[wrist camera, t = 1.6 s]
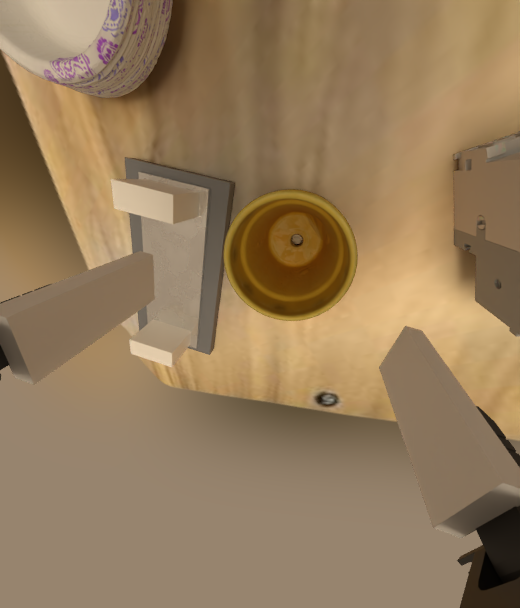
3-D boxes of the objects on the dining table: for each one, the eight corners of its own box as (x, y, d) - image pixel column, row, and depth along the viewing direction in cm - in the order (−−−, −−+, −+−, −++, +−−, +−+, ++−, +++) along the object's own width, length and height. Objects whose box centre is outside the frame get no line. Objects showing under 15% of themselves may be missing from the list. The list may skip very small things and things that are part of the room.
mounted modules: (147, 179, 25) (110, 178, 20) (199, 192, 24) (173, 194, 20) (153, 332, 35) (130, 353, 31) (190, 344, 35) (172, 367, 30)
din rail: (142, 172, 25) (138, 171, 24) (211, 188, 24) (208, 189, 24) (150, 330, 36) (148, 333, 36) (198, 346, 35) (196, 348, 35)
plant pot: (353, 186, 23) (373, 190, 14) (337, 283, 28) (345, 329, 19) (251, 186, 25) (216, 190, 16) (253, 277, 30) (226, 315, 21)
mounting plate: (134, 158, 26) (124, 157, 25) (234, 182, 25) (230, 182, 24) (145, 327, 38) (139, 332, 37) (213, 348, 37) (209, 354, 36)
